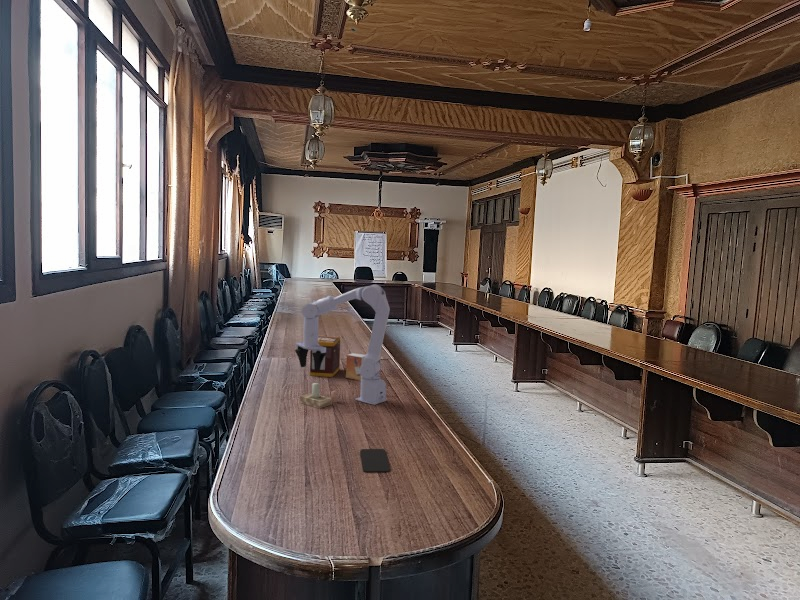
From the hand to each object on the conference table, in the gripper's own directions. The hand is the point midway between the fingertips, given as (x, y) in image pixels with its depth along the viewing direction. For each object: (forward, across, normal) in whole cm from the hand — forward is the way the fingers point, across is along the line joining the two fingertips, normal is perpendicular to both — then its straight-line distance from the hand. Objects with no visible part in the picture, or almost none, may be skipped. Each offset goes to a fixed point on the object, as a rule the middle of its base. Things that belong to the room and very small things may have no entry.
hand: (310, 368), depth 211 cm
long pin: (+10, -10, +7) cm, 16 cm away
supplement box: (+11, +20, -30) cm, 38 cm away
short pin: (+10, -14, 0) cm, 17 cm away
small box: (+11, +3, -32) cm, 34 cm away
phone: (+11, -59, +34) cm, 69 cm away
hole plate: (+10, -10, +7) cm, 16 cm away
